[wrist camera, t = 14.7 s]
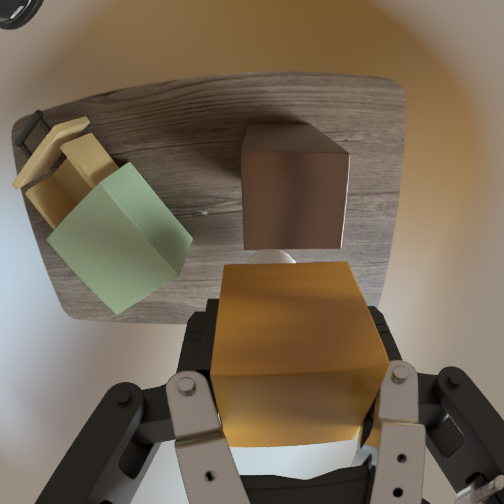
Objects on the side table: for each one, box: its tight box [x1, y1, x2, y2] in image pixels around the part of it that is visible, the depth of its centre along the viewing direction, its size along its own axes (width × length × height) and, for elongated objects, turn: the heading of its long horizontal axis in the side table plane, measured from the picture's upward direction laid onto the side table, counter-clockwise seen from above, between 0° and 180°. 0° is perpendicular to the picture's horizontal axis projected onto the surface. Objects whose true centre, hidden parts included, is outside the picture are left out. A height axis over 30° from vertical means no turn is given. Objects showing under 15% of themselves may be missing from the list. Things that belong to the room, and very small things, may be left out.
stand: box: [241, 124, 350, 250], centre depth 31 cm, size 8×8×18 cm
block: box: [210, 262, 390, 447], centre depth 10 cm, size 5×5×5 cm
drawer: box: [13, 110, 119, 230], centre depth 35 cm, size 18×11×8 cm, turn 34°
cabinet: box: [46, 162, 193, 315], centre depth 40 cm, size 15×13×10 cm
